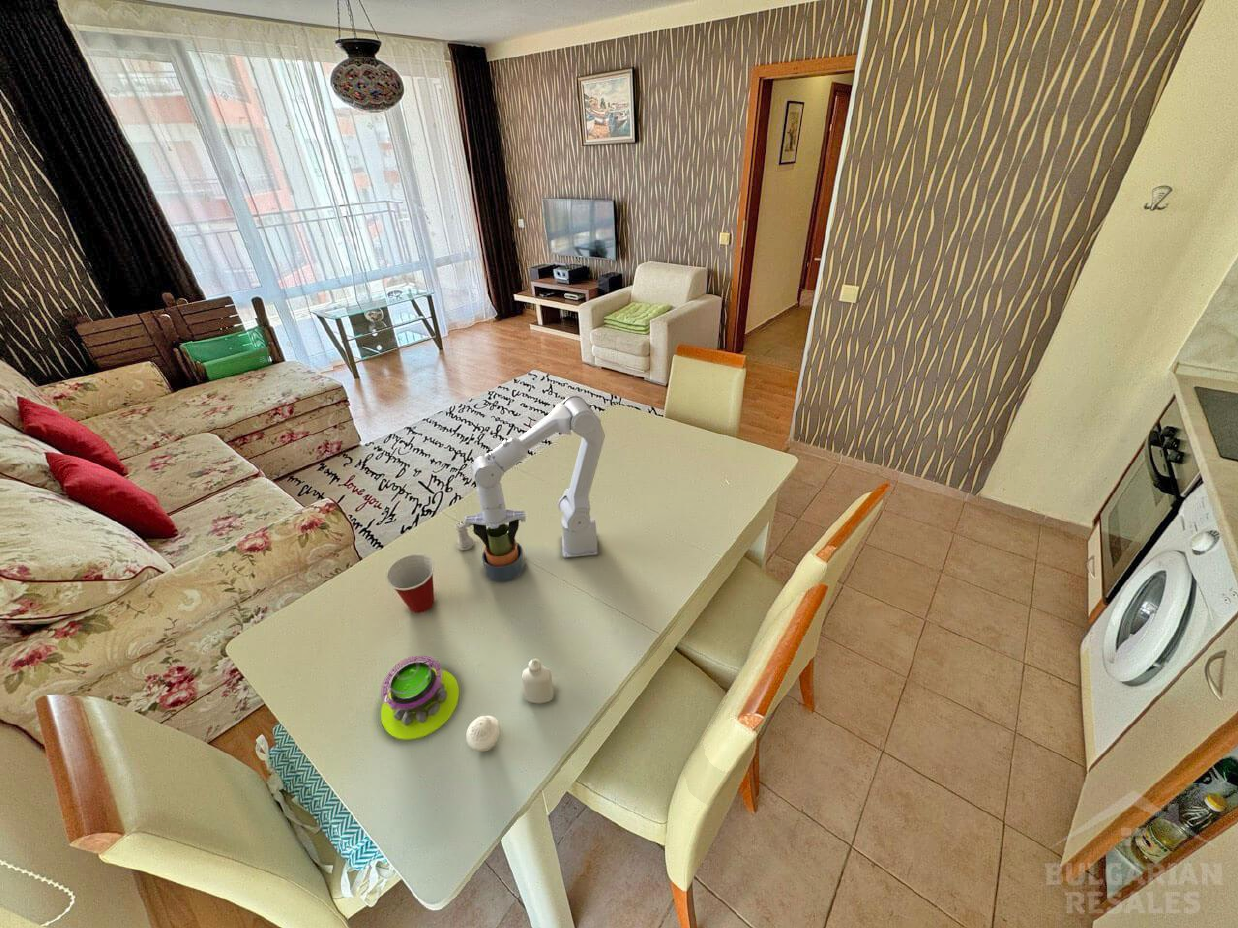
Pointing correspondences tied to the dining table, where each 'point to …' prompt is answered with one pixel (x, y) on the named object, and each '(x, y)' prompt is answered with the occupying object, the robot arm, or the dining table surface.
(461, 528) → the rook chess piece
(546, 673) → the eye dropper bottle
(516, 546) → the stack mid
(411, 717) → the toy cauldron
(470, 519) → the robot arm
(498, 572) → the stack big
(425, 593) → the plastic cup
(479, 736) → the white rounded egg shape
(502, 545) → the olive cup
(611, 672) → the dining table surface
